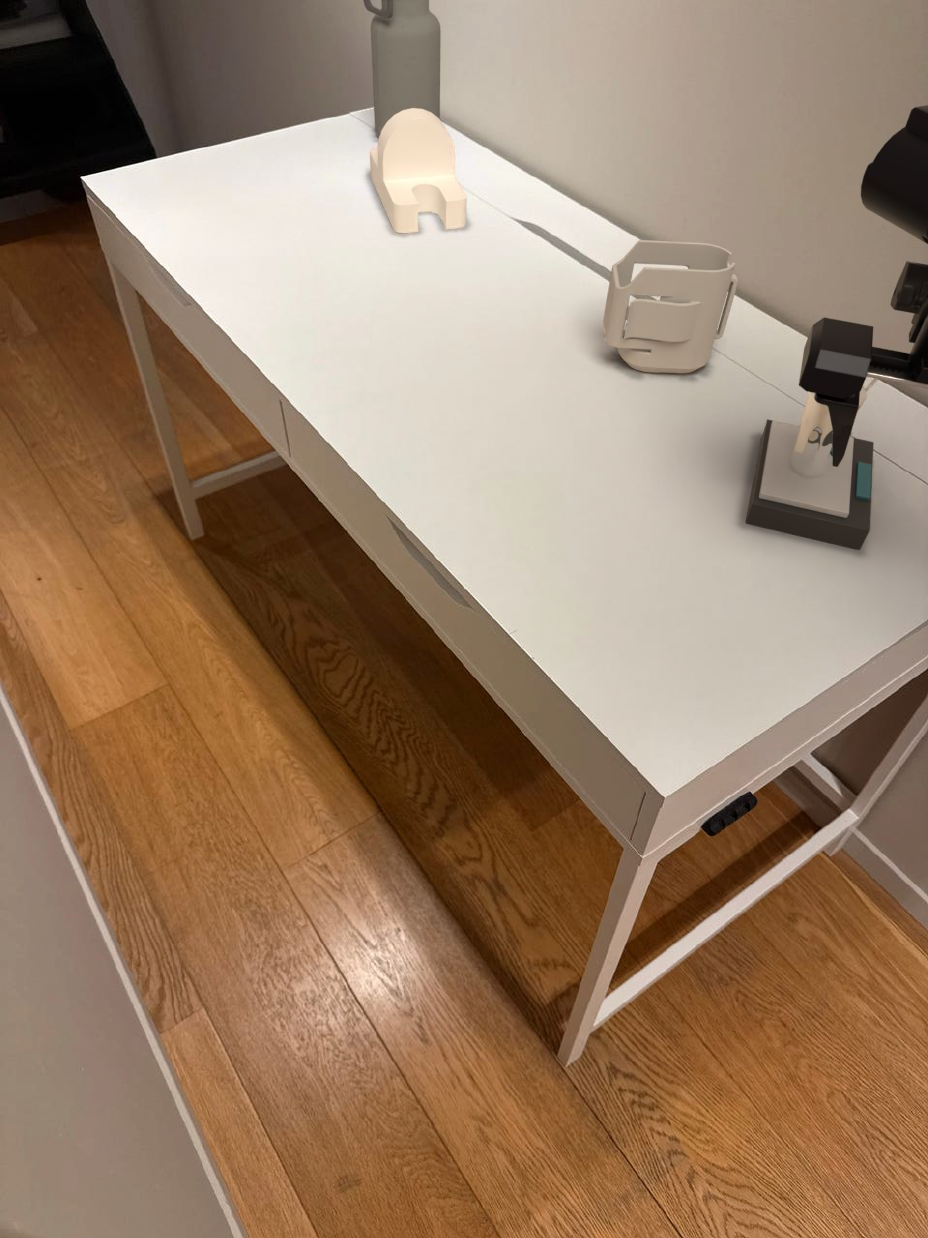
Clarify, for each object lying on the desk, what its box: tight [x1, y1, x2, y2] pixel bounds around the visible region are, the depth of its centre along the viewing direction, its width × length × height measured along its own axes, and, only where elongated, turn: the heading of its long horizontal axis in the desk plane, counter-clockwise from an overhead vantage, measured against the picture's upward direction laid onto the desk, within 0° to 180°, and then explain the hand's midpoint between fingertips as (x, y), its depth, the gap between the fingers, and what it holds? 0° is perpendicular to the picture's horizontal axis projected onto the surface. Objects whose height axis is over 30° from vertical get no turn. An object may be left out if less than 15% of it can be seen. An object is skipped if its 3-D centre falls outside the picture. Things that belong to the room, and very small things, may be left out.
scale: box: [745, 419, 875, 551], centre depth 81 cm, size 10×13×3 cm
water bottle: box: [363, 0, 442, 138], centre depth 123 cm, size 10×10×28 cm
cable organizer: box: [602, 239, 739, 374], centre depth 91 cm, size 7×12×12 cm, turn 88°
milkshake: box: [790, 378, 879, 477], centre depth 77 cm, size 4×5×10 cm
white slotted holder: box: [369, 108, 468, 234], centre depth 116 cm, size 10×18×11 cm, turn 15°
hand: (898, 476), depth 66 cm, fingers open, 9 cm apart
